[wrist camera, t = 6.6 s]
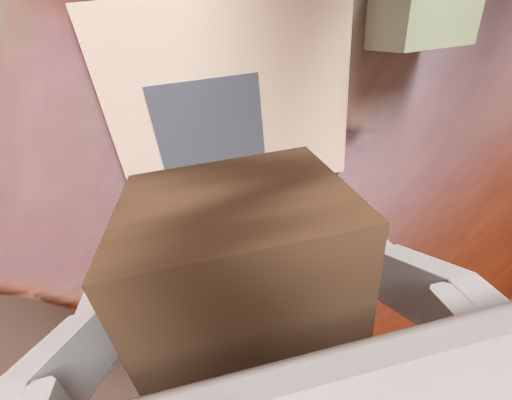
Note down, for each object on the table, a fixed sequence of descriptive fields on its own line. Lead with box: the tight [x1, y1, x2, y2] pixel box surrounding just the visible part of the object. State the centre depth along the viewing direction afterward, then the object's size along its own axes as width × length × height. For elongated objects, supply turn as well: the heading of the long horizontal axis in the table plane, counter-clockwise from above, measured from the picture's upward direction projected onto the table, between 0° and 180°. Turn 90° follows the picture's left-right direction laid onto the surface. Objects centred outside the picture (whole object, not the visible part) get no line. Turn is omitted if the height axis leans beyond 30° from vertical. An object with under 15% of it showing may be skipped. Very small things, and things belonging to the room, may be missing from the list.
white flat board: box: [65, 0, 353, 180], centre depth 22 cm, size 18×14×1 cm
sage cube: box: [364, 0, 486, 53], centre depth 20 cm, size 5×5×5 cm
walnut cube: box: [81, 146, 389, 396], centre depth 9 cm, size 6×6×5 cm
